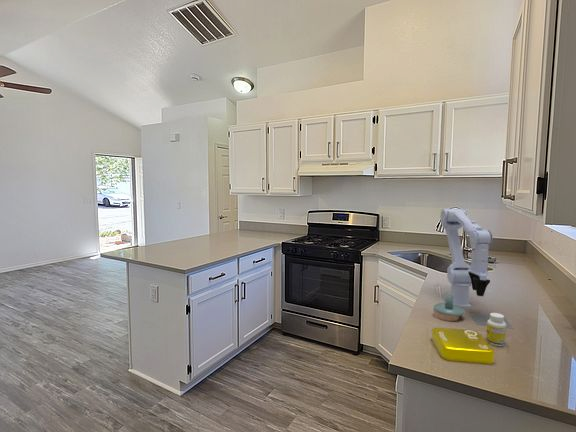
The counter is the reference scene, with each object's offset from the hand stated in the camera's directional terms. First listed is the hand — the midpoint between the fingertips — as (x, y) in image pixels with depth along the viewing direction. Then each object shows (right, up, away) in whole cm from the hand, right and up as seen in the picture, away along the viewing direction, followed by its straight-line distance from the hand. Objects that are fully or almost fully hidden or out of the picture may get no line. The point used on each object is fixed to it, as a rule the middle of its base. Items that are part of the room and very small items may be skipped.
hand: (477, 292), depth 130 cm
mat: (+2, -10, -4) cm, 11 cm away
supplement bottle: (-7, -12, -21) cm, 25 cm away
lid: (-12, -7, -1) cm, 14 cm away
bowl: (-13, -10, 0) cm, 16 cm away
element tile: (-21, -13, -26) cm, 35 cm away
